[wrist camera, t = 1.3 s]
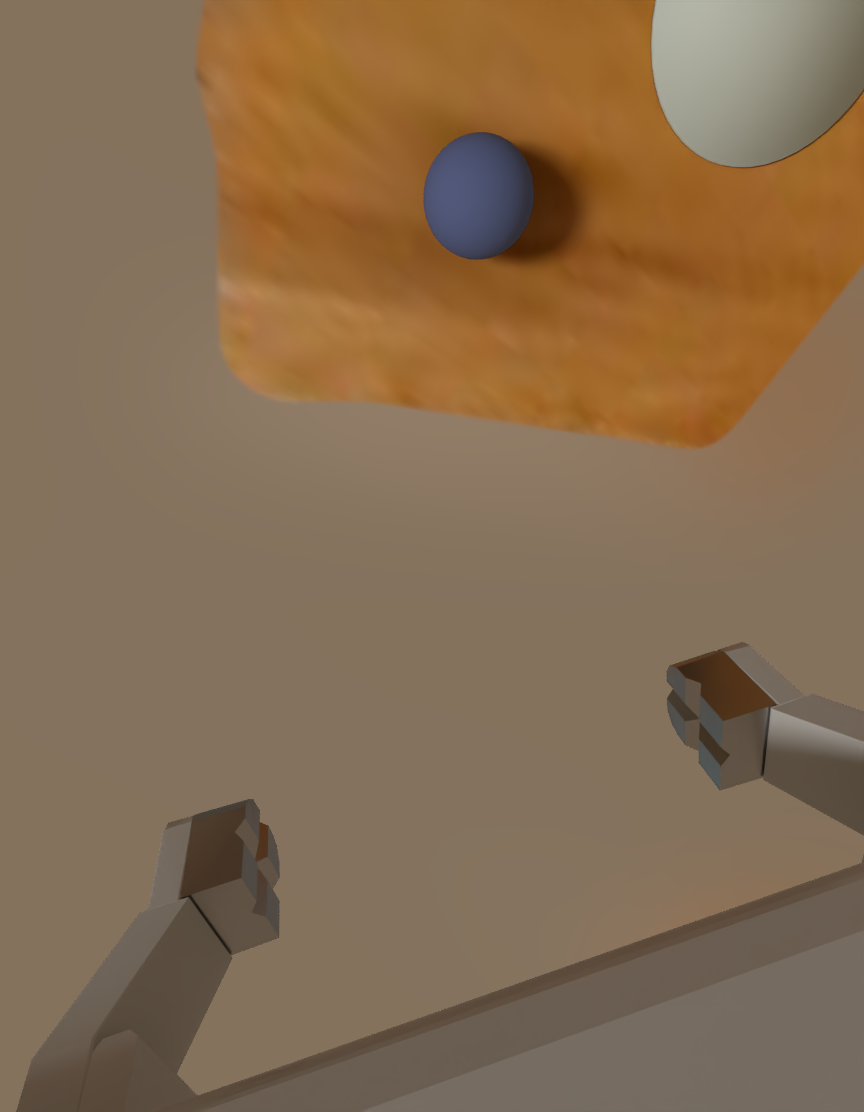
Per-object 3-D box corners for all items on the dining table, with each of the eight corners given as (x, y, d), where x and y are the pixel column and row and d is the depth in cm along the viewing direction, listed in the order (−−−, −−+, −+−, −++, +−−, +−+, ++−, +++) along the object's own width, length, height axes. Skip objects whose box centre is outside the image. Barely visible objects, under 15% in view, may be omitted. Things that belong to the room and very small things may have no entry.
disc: (914, -266, 26) (918, -268, 26) (912, 87, 33) (915, 87, 33) (620, -79, 28) (622, -81, 28) (680, 213, 35) (682, 213, 35)
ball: (495, 107, 31) (523, 108, 27) (533, 217, 35) (563, 234, 30) (399, 165, 32) (410, 175, 28) (444, 267, 35) (461, 290, 31)
